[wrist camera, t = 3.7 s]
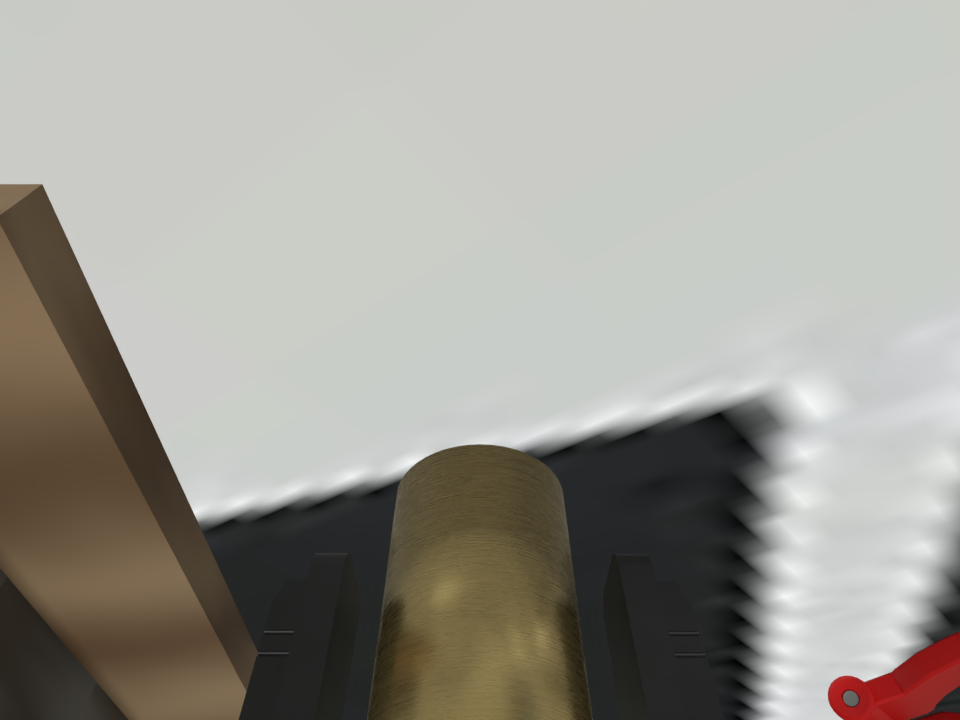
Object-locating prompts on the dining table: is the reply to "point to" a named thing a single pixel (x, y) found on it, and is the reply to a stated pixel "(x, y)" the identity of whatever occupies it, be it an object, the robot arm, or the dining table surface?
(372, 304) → the dining table surface
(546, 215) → the dining table surface
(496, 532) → the pin
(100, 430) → the board
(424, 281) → the dining table surface
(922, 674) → the tow hook
